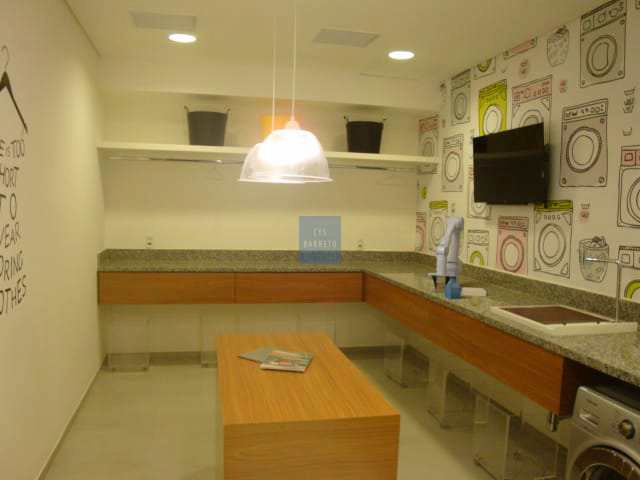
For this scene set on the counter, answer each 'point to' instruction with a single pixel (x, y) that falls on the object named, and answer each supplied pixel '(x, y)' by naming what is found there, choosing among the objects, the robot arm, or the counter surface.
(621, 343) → the counter surface
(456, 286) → the perfume bottle
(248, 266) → the counter surface
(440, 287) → the walnut cube
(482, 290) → the base block
